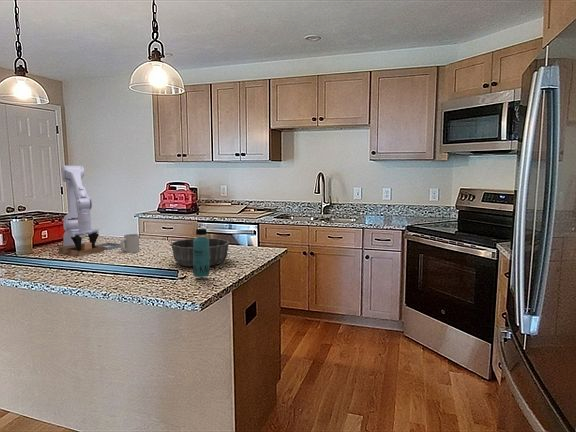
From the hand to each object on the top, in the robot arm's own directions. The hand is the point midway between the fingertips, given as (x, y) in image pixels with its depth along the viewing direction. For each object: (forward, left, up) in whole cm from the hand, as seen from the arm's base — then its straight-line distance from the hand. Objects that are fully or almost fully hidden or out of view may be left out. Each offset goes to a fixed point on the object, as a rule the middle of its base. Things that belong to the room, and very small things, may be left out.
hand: (85, 249), depth 202 cm
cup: (+16, +13, -3) cm, 21 cm away
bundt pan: (+62, +12, -3) cm, 63 cm away
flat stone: (-8, -3, -2) cm, 8 cm away
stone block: (0, 0, -2) cm, 2 cm away
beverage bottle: (+79, -9, -3) cm, 79 cm away
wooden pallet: (-3, 0, -3) cm, 4 cm away
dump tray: (-2, +15, -3) cm, 15 cm away
